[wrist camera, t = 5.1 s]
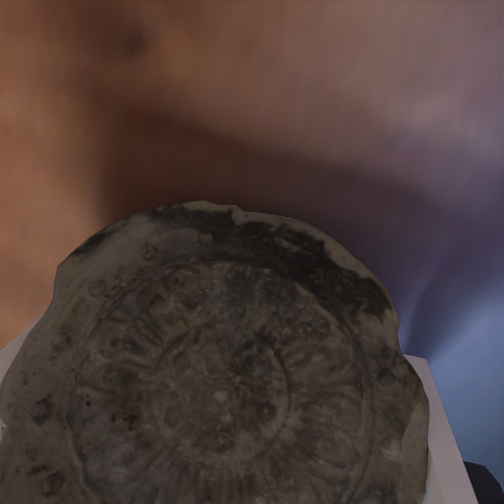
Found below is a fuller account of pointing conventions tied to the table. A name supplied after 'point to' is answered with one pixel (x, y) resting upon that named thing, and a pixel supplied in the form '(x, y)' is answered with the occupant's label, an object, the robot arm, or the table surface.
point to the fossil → (213, 372)
